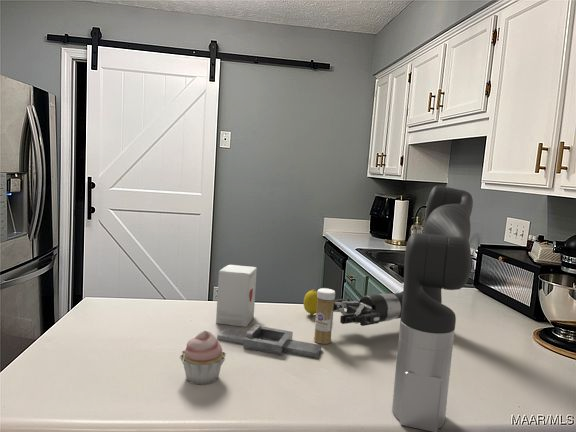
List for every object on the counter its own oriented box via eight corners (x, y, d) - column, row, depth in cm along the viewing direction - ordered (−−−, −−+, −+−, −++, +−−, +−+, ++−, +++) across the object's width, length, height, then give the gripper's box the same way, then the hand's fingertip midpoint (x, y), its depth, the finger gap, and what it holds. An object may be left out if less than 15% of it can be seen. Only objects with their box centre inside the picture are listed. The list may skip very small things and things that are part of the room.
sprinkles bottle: (311, 342, 105) (315, 290, 104) (316, 336, 110) (320, 286, 108) (329, 346, 104) (333, 293, 102) (333, 339, 108) (337, 289, 107)
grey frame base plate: (314, 362, 94) (315, 347, 94) (212, 342, 101) (213, 329, 101) (323, 346, 103) (324, 333, 103) (229, 329, 110) (229, 317, 110)
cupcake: (179, 391, 78) (181, 340, 77) (178, 368, 87) (179, 322, 86) (228, 387, 81) (231, 338, 80) (222, 365, 90) (224, 321, 89)
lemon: (299, 315, 125) (301, 289, 124) (307, 310, 130) (309, 286, 129) (316, 319, 122) (318, 293, 121) (323, 314, 127) (325, 289, 126)
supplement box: (246, 327, 113) (249, 273, 111) (215, 323, 114) (217, 270, 112) (254, 316, 121) (257, 266, 120) (225, 313, 123) (227, 263, 121)
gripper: (364, 287, 121) (317, 292, 113) (399, 302, 108) (349, 308, 100) (362, 312, 121) (315, 318, 114) (396, 330, 109) (346, 338, 101)
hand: (331, 313), depth 107 cm, fingers open, 8 cm apart
